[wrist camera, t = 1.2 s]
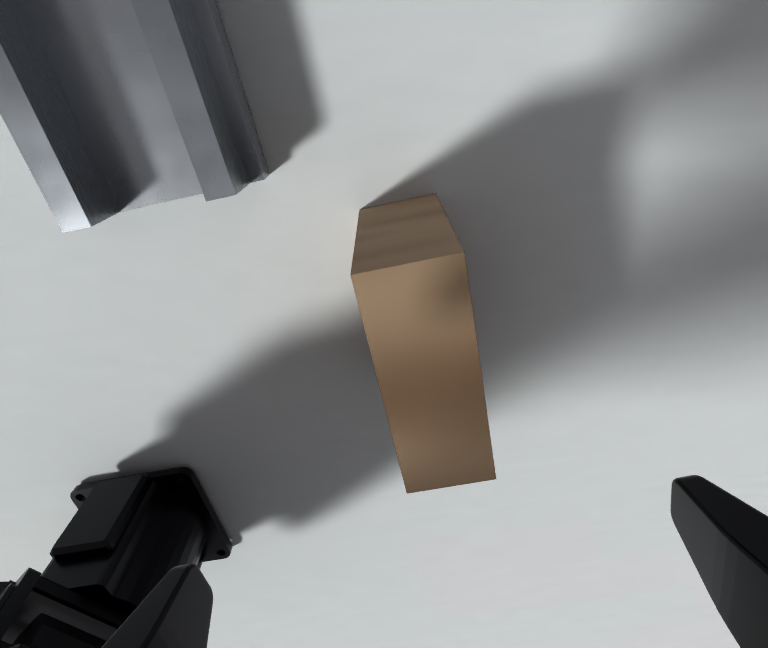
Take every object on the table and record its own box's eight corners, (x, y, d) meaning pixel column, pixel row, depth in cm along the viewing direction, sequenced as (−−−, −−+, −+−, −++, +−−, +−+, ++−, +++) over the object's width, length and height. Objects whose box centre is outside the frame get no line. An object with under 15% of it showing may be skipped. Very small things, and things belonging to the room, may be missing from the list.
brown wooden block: (462, 366, 22) (496, 479, 16) (398, 377, 22) (406, 493, 16) (435, 193, 19) (464, 252, 12) (359, 209, 19) (350, 275, 13)
